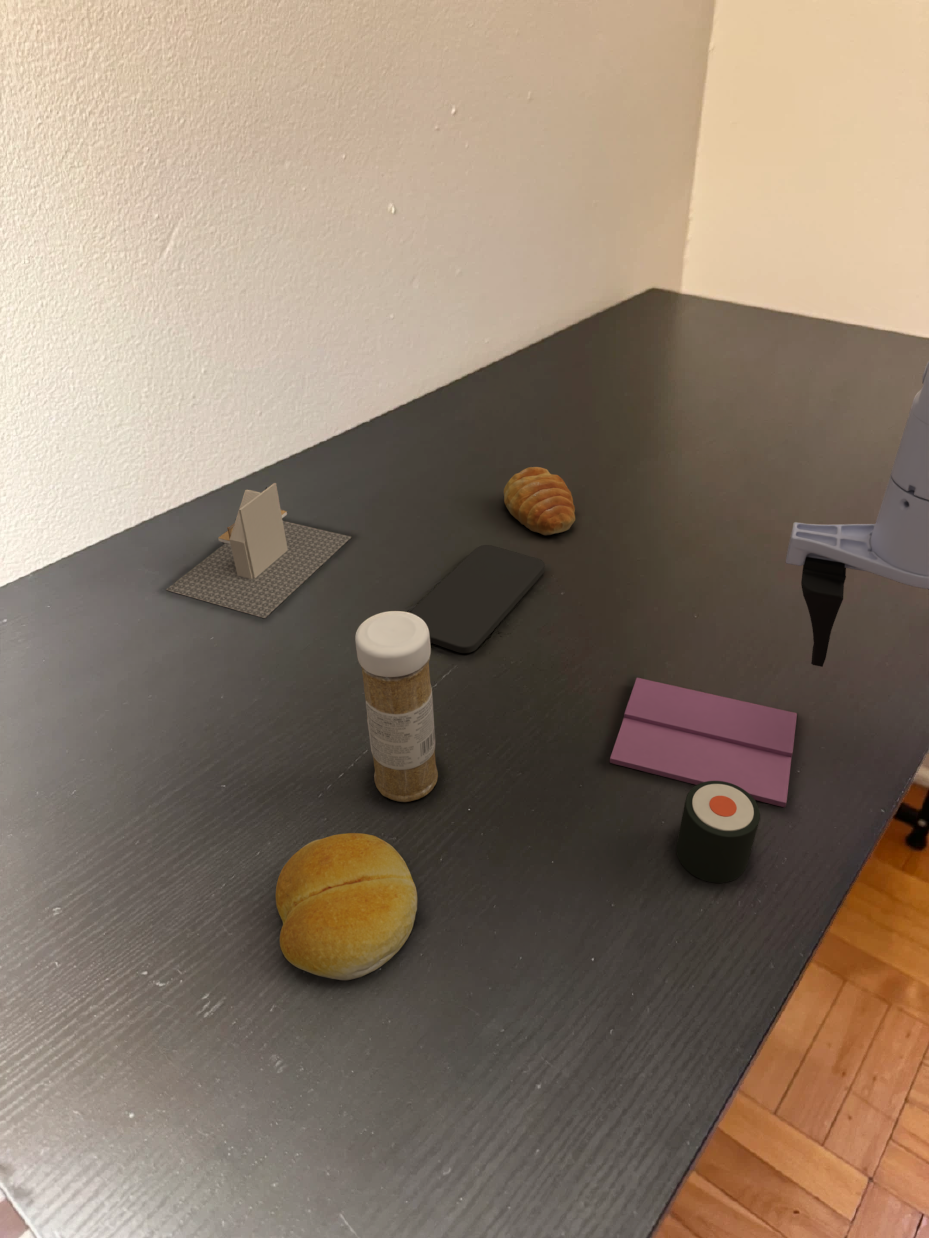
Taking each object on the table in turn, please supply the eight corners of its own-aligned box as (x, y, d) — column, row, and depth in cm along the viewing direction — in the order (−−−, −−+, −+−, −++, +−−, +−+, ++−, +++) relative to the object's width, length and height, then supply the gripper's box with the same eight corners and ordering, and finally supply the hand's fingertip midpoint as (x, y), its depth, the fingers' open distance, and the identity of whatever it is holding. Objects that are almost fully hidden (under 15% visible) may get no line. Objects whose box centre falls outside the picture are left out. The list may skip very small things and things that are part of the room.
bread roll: (288, 1003, 47) (276, 963, 44) (275, 872, 54) (264, 831, 51) (434, 965, 48) (430, 925, 46) (402, 842, 55) (398, 801, 53)
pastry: (591, 532, 85) (593, 499, 83) (529, 545, 84) (529, 512, 82) (554, 491, 93) (555, 459, 90) (497, 502, 91) (496, 470, 89)
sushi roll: (750, 837, 55) (764, 788, 52) (742, 892, 51) (756, 843, 49) (682, 819, 56) (692, 770, 53) (670, 871, 53) (680, 822, 50)
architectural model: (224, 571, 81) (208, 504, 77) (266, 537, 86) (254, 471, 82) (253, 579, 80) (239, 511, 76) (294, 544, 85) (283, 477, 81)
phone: (395, 624, 72) (481, 541, 83) (396, 632, 73) (481, 549, 83) (470, 650, 69) (549, 561, 80) (470, 658, 70) (549, 568, 80)
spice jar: (402, 747, 62) (388, 599, 54) (451, 774, 60) (444, 624, 52) (360, 786, 59) (338, 635, 51) (410, 816, 57) (395, 663, 49)
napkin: (794, 719, 63) (797, 711, 63) (785, 807, 57) (787, 798, 56) (636, 684, 67) (637, 675, 66) (609, 762, 60) (610, 754, 60)
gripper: (1083, 469, 48) (998, 655, 56) (812, 436, 52) (769, 612, 60) (1109, 531, 42) (1011, 726, 50) (805, 487, 47) (760, 673, 55)
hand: (879, 669), depth 55 cm, fingers open, 7 cm apart
